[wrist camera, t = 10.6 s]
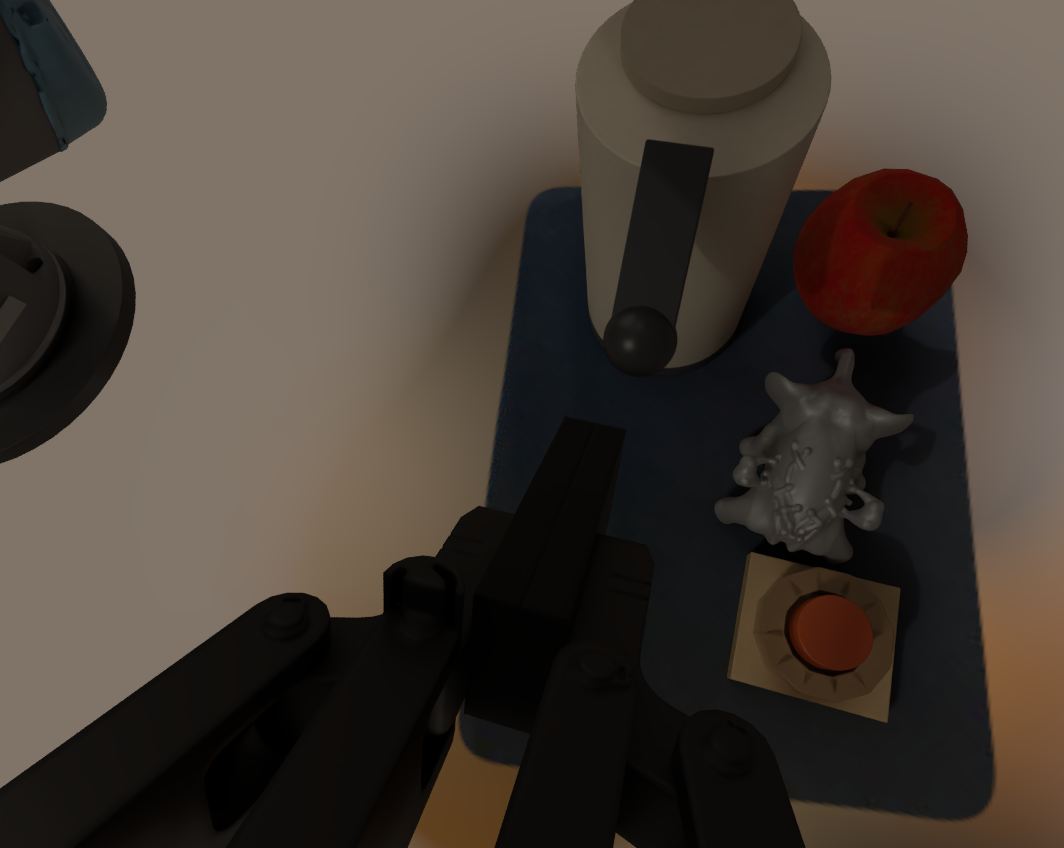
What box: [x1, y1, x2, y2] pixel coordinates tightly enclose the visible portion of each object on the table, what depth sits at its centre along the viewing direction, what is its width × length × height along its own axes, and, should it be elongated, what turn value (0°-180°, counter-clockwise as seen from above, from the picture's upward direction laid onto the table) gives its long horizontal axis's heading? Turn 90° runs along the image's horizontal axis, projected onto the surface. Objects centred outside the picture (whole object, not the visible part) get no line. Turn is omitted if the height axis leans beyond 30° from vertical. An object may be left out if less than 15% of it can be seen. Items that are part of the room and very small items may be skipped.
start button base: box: [727, 552, 900, 723], centre depth 35 cm, size 8×7×3 cm
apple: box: [793, 169, 968, 336], centre depth 37 cm, size 9×8×11 cm
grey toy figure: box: [715, 348, 914, 564], centre depth 36 cm, size 9×12×8 cm
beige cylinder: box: [575, 0, 831, 375], centre depth 34 cm, size 10×10×20 cm
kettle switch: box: [603, 139, 714, 377], centre depth 24 cm, size 3×8×3 cm
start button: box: [789, 595, 873, 671], centre depth 33 cm, size 4×4×2 cm
